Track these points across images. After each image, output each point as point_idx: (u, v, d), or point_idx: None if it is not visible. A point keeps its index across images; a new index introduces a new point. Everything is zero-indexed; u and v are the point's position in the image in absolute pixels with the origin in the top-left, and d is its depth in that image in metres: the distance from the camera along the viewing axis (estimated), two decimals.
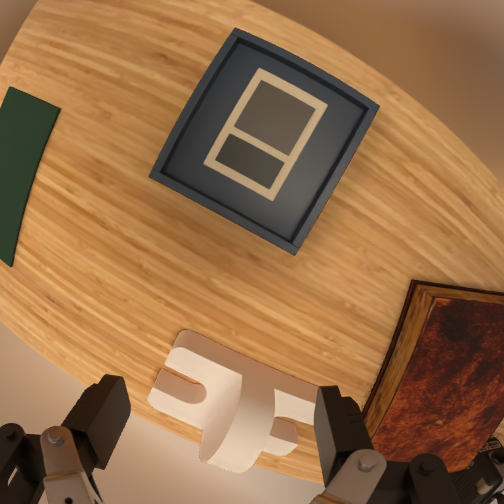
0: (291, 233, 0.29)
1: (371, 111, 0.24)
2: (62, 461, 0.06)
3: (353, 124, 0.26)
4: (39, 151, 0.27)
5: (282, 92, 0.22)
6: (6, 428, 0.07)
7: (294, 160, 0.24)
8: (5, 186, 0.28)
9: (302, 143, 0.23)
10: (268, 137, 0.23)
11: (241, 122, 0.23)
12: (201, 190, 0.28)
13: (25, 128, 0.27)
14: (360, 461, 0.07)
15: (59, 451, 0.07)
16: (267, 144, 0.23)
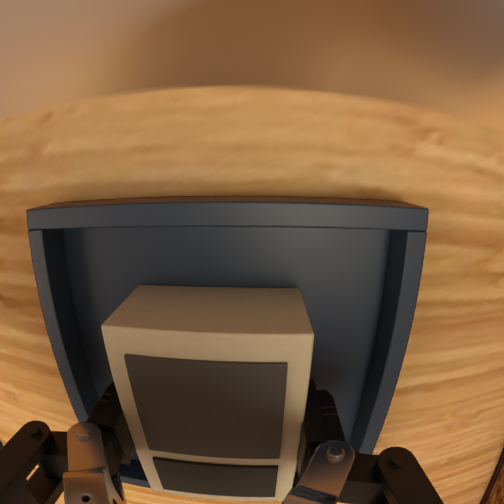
0: None
1: (415, 236, 0.10)
2: (92, 457, 0.07)
3: (380, 269, 0.12)
4: None
5: (185, 360, 0.09)
6: (31, 425, 0.07)
7: (294, 456, 0.10)
8: None
9: (294, 431, 0.09)
10: (220, 450, 0.09)
11: (155, 441, 0.10)
12: None
13: None
14: (328, 452, 0.08)
15: (85, 447, 0.07)
16: (228, 455, 0.10)
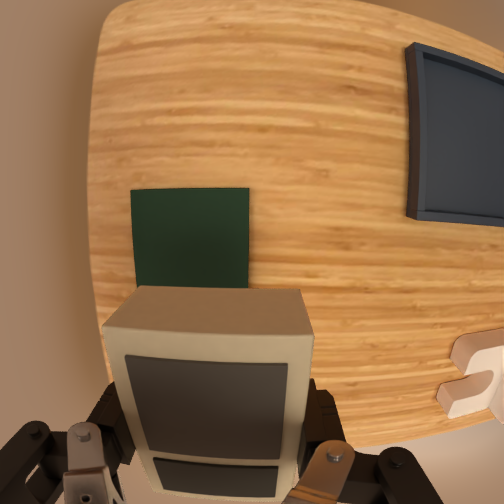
0: None
1: None
2: (92, 457, 0.07)
3: None
4: (244, 250, 0.26)
5: (186, 361, 0.09)
6: (31, 426, 0.07)
7: (294, 456, 0.10)
8: None
9: (294, 432, 0.09)
10: (221, 451, 0.09)
11: (155, 442, 0.10)
12: (451, 210, 0.25)
13: (200, 232, 0.26)
14: (328, 452, 0.08)
15: (85, 447, 0.07)
16: (228, 455, 0.10)
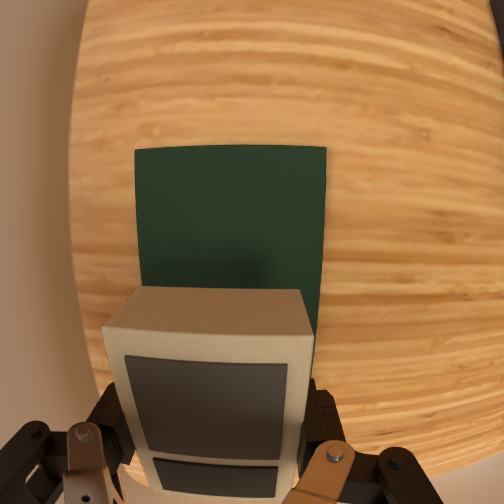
0: None
1: None
2: (92, 457, 0.07)
3: None
4: (317, 244, 0.17)
5: (185, 361, 0.09)
6: (31, 426, 0.07)
7: (294, 457, 0.10)
8: None
9: (294, 432, 0.09)
10: (220, 451, 0.09)
11: (155, 442, 0.10)
12: None
13: (248, 215, 0.16)
14: (328, 452, 0.08)
15: (85, 447, 0.07)
16: (228, 456, 0.10)
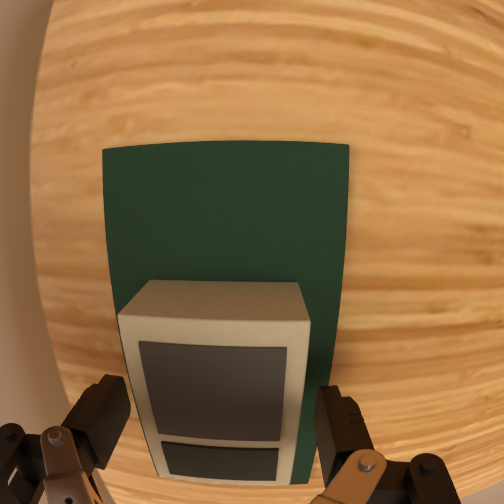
0: None
1: None
2: (62, 461, 0.06)
3: None
4: (336, 270, 0.13)
5: (194, 346, 0.10)
6: (6, 428, 0.07)
7: (294, 439, 0.11)
8: None
9: (293, 414, 0.10)
10: (225, 433, 0.11)
11: (164, 425, 0.11)
12: None
13: (247, 232, 0.12)
14: (360, 461, 0.07)
15: (59, 451, 0.07)
16: (231, 438, 0.11)
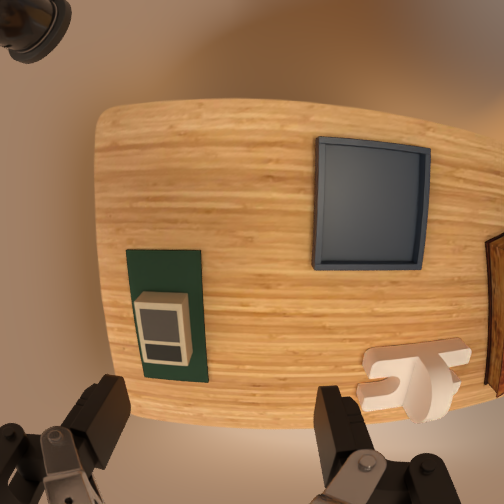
0: (411, 256, 0.38)
1: (427, 155, 0.33)
2: (62, 461, 0.06)
3: (418, 168, 0.35)
4: (199, 289, 0.40)
5: (154, 310, 0.37)
6: (6, 428, 0.07)
7: (184, 342, 0.38)
8: None
9: (182, 332, 0.38)
10: (163, 338, 0.38)
11: (145, 336, 0.38)
12: (349, 260, 0.39)
13: (171, 278, 0.40)
14: (360, 461, 0.07)
15: (59, 451, 0.07)
16: (165, 341, 0.38)
